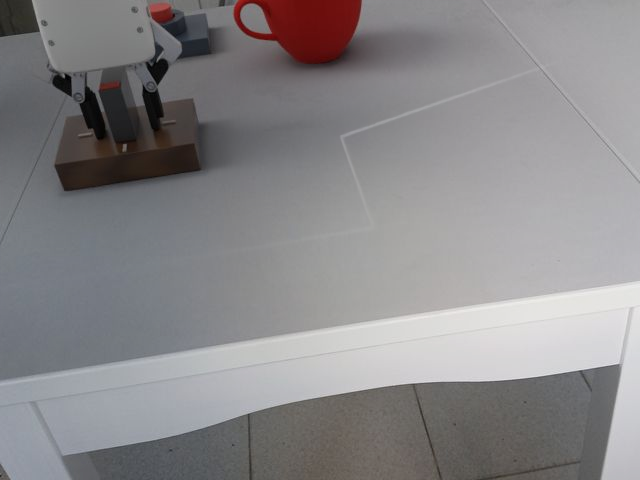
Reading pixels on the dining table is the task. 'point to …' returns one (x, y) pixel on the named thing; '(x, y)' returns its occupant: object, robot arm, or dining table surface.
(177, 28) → the button box
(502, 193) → the dining table surface
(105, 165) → the dial panel
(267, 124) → the dining table surface
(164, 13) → the button
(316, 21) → the ceramic cup
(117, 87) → the pointer knob
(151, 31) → the robot arm
